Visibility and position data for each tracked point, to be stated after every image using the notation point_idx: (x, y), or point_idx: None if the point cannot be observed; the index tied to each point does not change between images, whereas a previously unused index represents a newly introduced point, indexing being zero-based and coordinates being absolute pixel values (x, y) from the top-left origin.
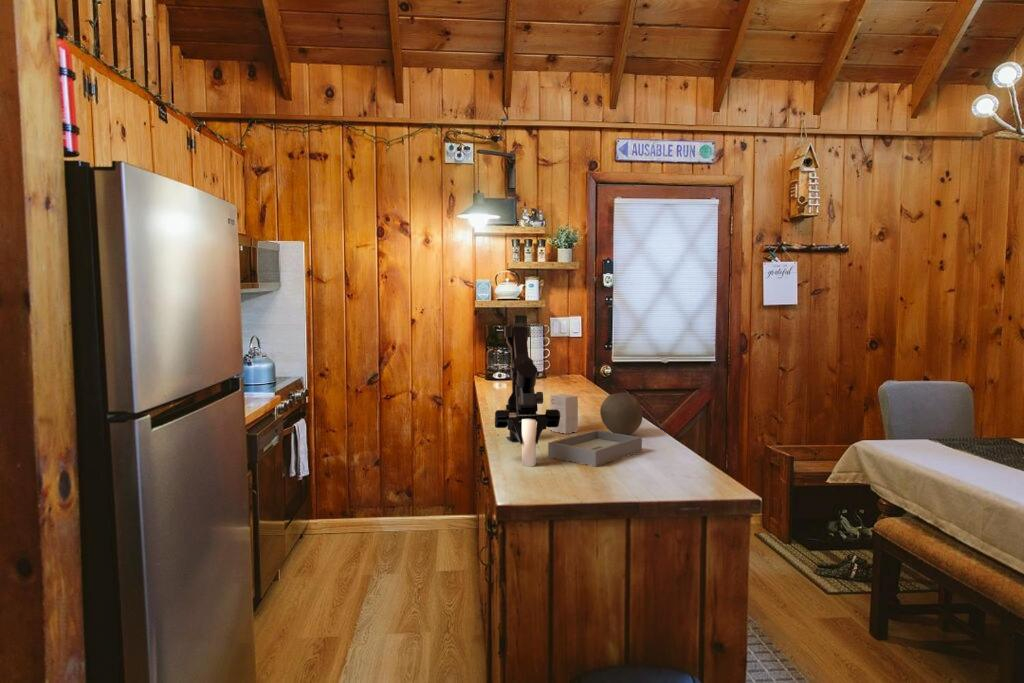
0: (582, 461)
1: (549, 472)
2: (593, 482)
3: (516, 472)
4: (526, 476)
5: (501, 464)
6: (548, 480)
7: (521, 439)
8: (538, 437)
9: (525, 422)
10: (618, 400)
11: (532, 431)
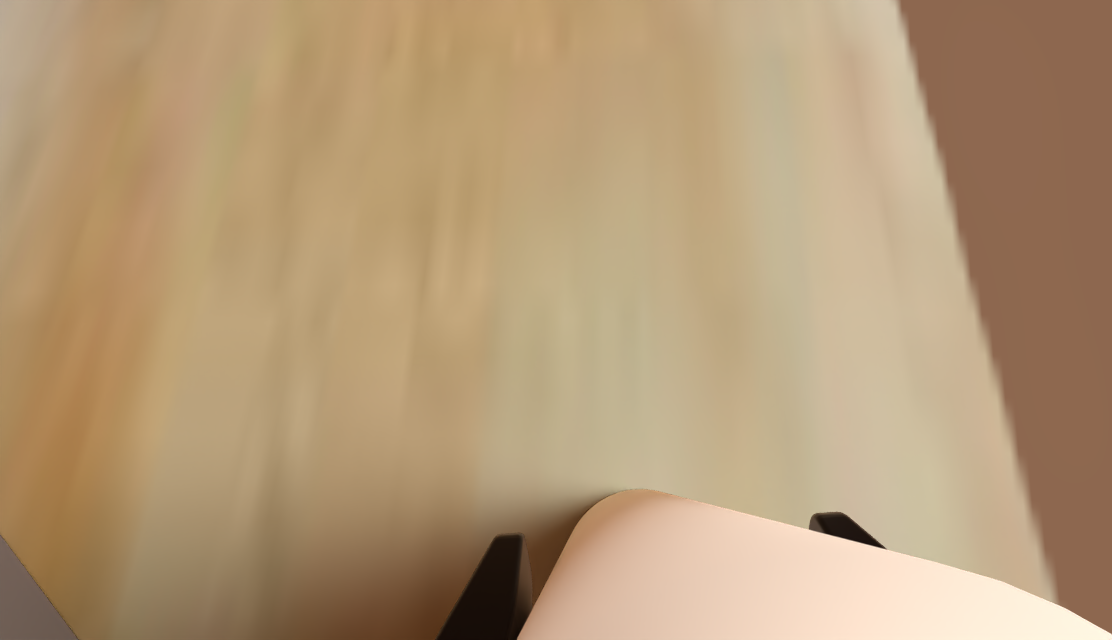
0: (20, 608)
1: (442, 277)
2: (148, 12)
3: (762, 271)
4: (660, 144)
5: None
6: (477, 42)
7: None
8: (459, 610)
9: (1015, 595)
10: None
11: (602, 542)
